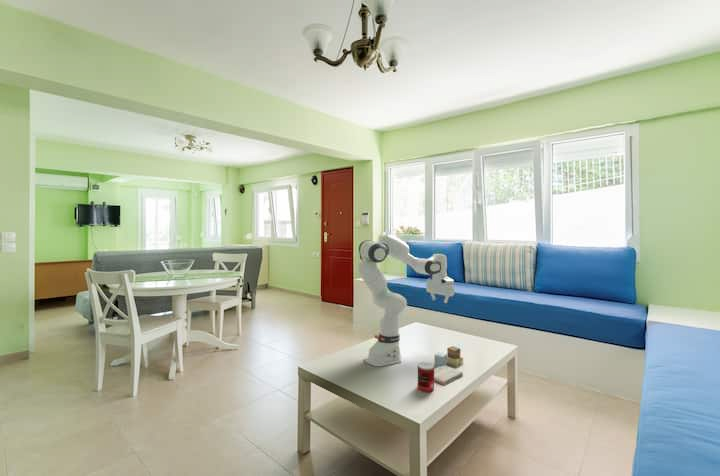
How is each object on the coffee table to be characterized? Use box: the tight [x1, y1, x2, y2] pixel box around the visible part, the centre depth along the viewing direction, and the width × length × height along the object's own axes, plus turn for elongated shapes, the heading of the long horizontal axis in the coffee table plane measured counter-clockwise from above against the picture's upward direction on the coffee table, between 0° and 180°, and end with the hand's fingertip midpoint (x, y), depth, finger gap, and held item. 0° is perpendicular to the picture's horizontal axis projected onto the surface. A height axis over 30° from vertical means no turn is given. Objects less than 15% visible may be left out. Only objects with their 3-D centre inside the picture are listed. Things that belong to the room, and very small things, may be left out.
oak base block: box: [447, 355, 464, 368], centre depth 180 cm, size 7×7×4 cm
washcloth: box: [434, 365, 464, 386], centre depth 163 cm, size 12×18×3 cm, turn 131°
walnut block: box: [446, 345, 461, 359], centre depth 179 cm, size 5×5×5 cm
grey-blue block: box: [434, 351, 448, 367], centre depth 177 cm, size 5×5×6 cm
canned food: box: [417, 361, 435, 393], centre depth 150 cm, size 8×8×11 cm
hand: (439, 301), depth 199 cm, fingers open, 8 cm apart
